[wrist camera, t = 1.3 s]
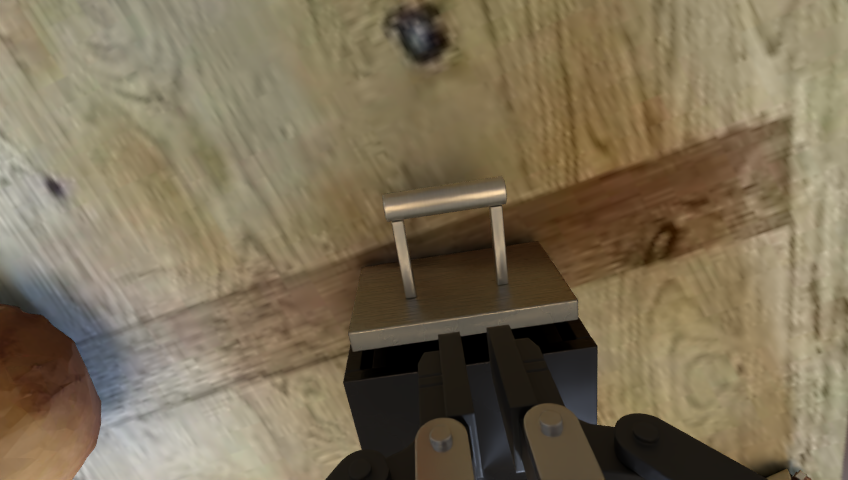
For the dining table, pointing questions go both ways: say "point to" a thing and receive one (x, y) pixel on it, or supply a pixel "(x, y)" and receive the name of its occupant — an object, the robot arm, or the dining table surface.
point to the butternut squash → (43, 400)
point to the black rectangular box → (399, 395)
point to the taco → (788, 476)
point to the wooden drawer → (456, 284)
